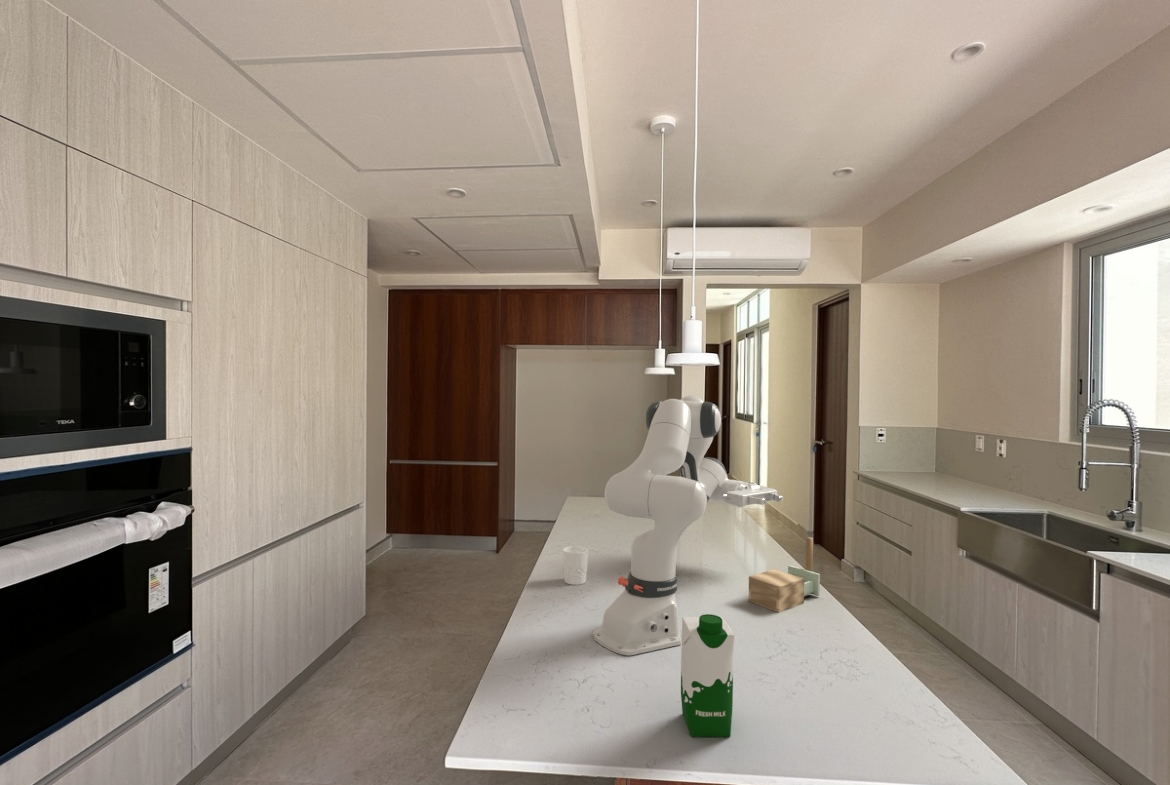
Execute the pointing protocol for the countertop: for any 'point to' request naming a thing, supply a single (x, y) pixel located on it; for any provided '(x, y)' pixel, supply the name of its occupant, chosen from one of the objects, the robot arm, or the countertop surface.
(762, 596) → the tan wooden block
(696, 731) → the milk carton
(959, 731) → the countertop surface
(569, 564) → the white cup
